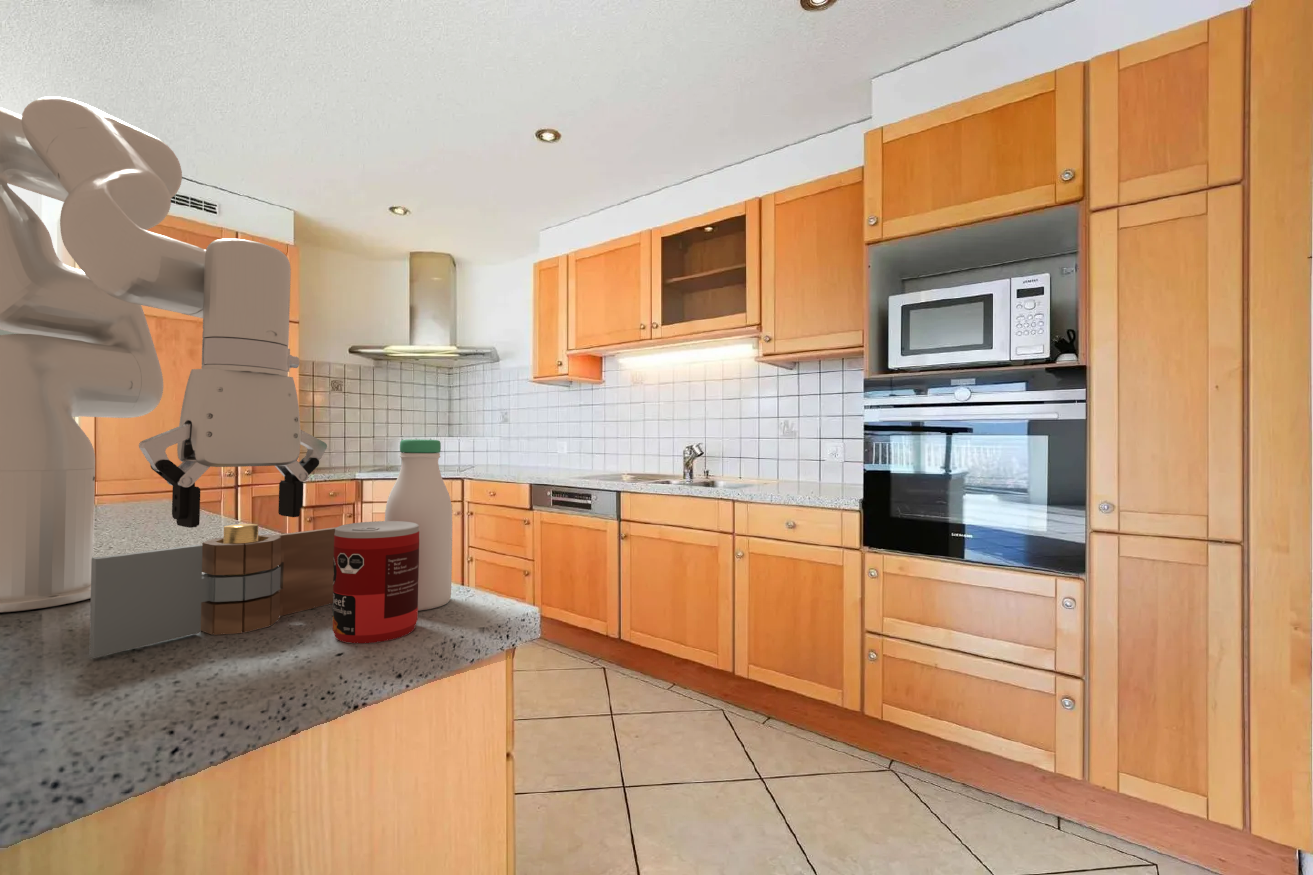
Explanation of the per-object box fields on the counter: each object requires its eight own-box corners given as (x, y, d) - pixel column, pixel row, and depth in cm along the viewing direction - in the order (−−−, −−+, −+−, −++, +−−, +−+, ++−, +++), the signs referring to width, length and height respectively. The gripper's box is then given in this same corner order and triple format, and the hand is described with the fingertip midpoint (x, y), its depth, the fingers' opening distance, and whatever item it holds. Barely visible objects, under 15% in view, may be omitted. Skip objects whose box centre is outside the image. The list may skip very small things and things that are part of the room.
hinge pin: (216, 626, 61) (218, 526, 61) (247, 618, 63) (249, 523, 63) (230, 631, 59) (232, 528, 59) (262, 623, 62) (264, 525, 62)
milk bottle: (462, 604, 70) (465, 440, 70) (396, 617, 65) (400, 439, 65) (435, 592, 76) (438, 439, 76) (372, 602, 70) (376, 438, 70)
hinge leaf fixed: (191, 627, 60) (193, 540, 60) (338, 593, 74) (339, 523, 74) (222, 638, 57) (224, 547, 57) (369, 601, 71) (370, 527, 71)
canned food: (335, 625, 62) (337, 522, 62) (415, 617, 65) (417, 519, 65) (328, 649, 55) (330, 533, 55) (419, 638, 58) (421, 529, 58)
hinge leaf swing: (77, 649, 53) (80, 554, 53) (258, 609, 66) (259, 532, 66) (106, 664, 50) (108, 562, 50) (289, 618, 63) (291, 538, 63)
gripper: (308, 371, 71) (304, 510, 71) (127, 350, 56) (122, 527, 56) (345, 369, 67) (341, 515, 67) (162, 346, 52) (156, 535, 52)
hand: (241, 520), depth 62 cm, fingers open, 9 cm apart
